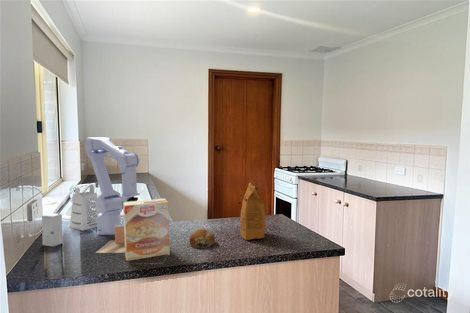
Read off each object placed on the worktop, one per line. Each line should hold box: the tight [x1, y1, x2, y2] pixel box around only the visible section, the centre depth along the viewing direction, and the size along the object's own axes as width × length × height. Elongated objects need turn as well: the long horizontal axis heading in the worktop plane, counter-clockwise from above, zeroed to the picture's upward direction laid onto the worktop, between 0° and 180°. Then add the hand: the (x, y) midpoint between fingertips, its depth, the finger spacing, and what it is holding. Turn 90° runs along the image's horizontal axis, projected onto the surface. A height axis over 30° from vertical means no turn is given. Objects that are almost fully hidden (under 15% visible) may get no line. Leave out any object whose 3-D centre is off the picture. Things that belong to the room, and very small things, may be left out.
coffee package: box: [239, 182, 266, 241], centre depth 135 cm, size 10×12×22 cm
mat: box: [94, 239, 125, 254], centre depth 125 cm, size 14×14×1 cm
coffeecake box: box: [122, 198, 171, 261], centre depth 116 cm, size 15×7×20 cm, turn 114°
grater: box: [69, 183, 101, 231], centre depth 155 cm, size 10×10×20 cm
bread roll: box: [189, 227, 216, 249], centre depth 128 cm, size 10×10×8 cm
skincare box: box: [41, 212, 63, 247], centre depth 130 cm, size 6×4×12 cm
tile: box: [114, 224, 125, 244], centre depth 129 cm, size 7×2×7 cm, turn 89°
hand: (130, 215), depth 135 cm, fingers closed
